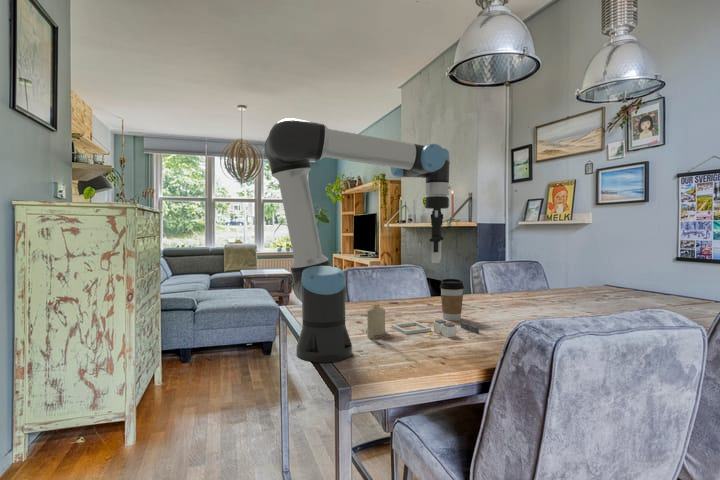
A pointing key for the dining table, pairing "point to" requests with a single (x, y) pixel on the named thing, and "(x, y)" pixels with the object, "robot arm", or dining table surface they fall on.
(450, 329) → the knob
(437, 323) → the knob
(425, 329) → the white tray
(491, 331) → the dining table surface
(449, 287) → the coffee cup
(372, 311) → the beige bottle
